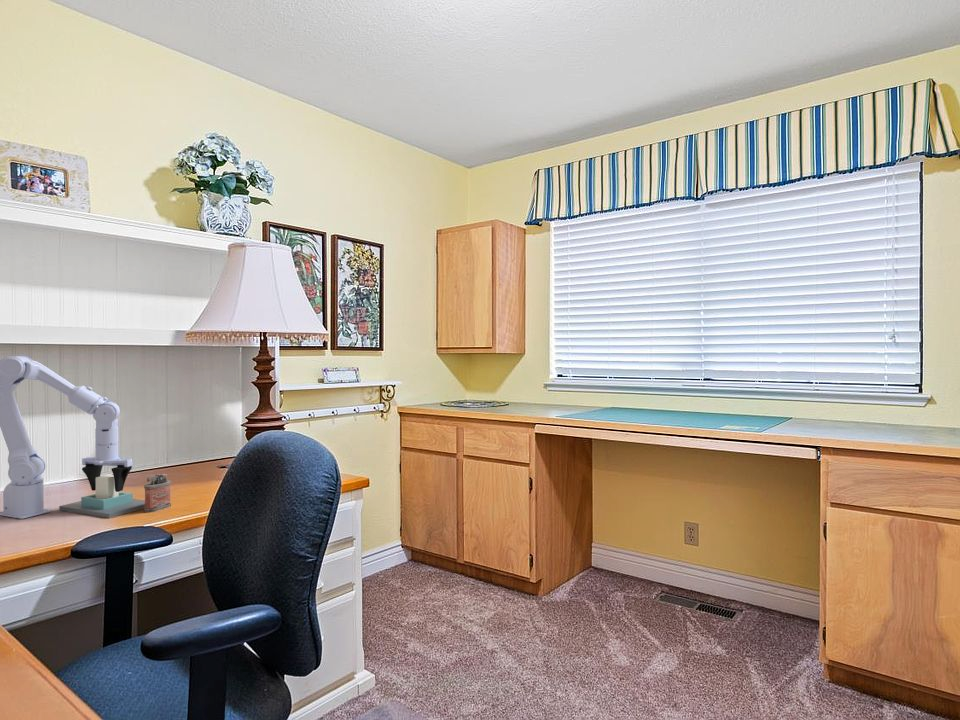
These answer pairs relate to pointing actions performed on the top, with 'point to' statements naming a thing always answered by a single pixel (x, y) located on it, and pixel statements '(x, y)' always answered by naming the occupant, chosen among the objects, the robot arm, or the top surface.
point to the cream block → (105, 487)
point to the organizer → (105, 505)
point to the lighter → (157, 493)
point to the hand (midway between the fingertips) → (107, 490)
